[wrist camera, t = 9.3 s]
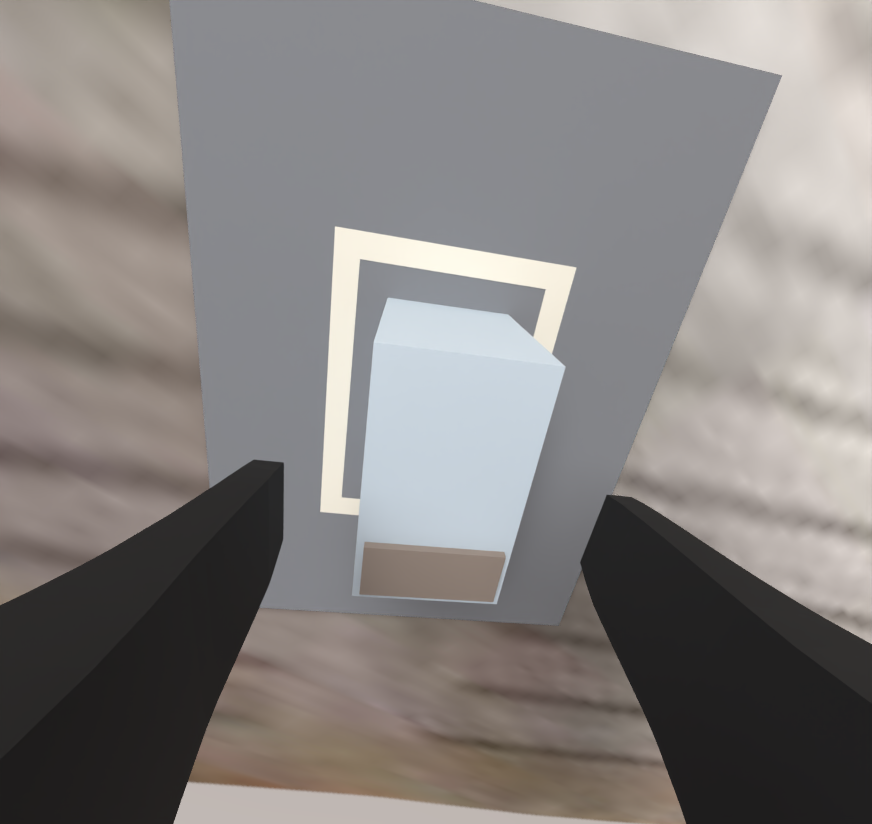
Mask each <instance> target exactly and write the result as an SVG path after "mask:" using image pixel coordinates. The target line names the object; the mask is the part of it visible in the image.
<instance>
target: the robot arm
mask: <svg viewBox="0 0 872 824" xmlns="http://www.w3.org/2000/svg"><path fill="white" fill-rule="evenodd" d="M283 529H284V462H274V461H264V460H252V461H251V462H249V463H247V464H246V465H244V466H243V467H241V468H240V469H238V470H237V471H235V472H234V473H232V474H231V475H229V476H228V477H226V478H225V479H223V480H222V481H220V482H219V483H217V484H216V485H214V486H213V487H211V488H210V489H208V490H207V491H205V492H204V493H202V494H201V495H199V496H198V497H196V498H194V499H193V500H191V501H190V502H188V503H187V504H185V505H184V506H182V507H181V508H179V509H177V510H176V511H174V512H173V513H171V514H170V515H168V516H166V517H165V518H163V519H161V520H159V521H158V522H156V523H154V524H153V525H151V526H149V527H148V528H146V529H144V530H143V531H141V532H139V533H137V534H136V535H134V536H132V537H131V538H129V539H127V540H126V541H124V542H122V543H121V544H119V545H117V546H115V547H114V548H112V549H110V550H108V551H107V552H105V553H103V554H101V555H99V556H98V557H96V558H94V559H92V560H90V561H88V562H86V563H84V564H83V565H81V566H79V567H77V568H75V569H73V570H71V571H69V572H67V573H65V574H63V575H61V576H59V577H57V578H55V579H53V580H51V581H49V582H47V583H45V584H43V585H41V586H39V587H37V588H35V589H33V590H31V591H29V592H27V593H25V594H23V595H21V596H19V597H17V598H15V599H13V600H11V601H9V602H6V603H4V604H2V605H0V824H173V823H174V820H175V817H176V814H177V811H178V808H179V805H180V802H181V799H182V796H183V793H184V791H185V788H186V785H187V782H188V779H189V776H190V773H191V771H192V768H193V765H194V762H195V759H196V756H197V754H198V751H199V748H200V745H201V742H202V739H203V736H204V734H205V731H206V728H207V726H208V723H209V721H210V718H211V716H212V713H213V711H214V708H215V706H216V703H217V701H218V699H219V696H220V694H221V692H222V690H223V687H224V685H225V683H226V681H227V679H228V676H229V674H230V672H231V670H232V667H233V665H234V663H235V661H236V658H237V656H238V654H239V652H240V649H241V647H242V645H243V643H244V641H245V638H246V636H247V634H248V632H249V629H250V627H251V625H252V623H253V620H254V618H255V616H256V614H257V611H258V609H259V607H260V605H261V602H262V600H263V598H264V596H265V593H266V591H267V589H268V586H269V584H270V581H271V578H272V575H273V571H274V568H275V565H276V562H277V559H278V555H279V552H280V549H281V545H282V542H283ZM580 564H581V567H582V571H583V574H584V577H585V581H586V584H587V587H588V590H589V593H590V596H591V599H592V602H593V605H594V607H595V609H596V612H597V614H598V616H599V618H600V620H601V623H602V625H603V627H604V629H605V631H606V633H607V635H608V638H609V640H610V642H611V644H612V646H613V648H614V650H615V652H616V655H617V657H618V659H619V661H620V663H621V665H622V667H623V669H624V671H625V674H626V676H627V678H628V680H629V682H630V684H631V686H632V688H633V690H634V693H635V695H636V697H637V699H638V701H639V703H640V705H641V707H642V709H643V712H644V714H645V716H646V718H647V721H648V723H649V725H650V728H651V730H652V732H653V735H654V737H655V739H656V742H657V744H658V747H659V750H660V752H661V755H662V758H663V761H664V763H665V766H666V769H667V771H668V774H669V777H670V779H671V782H672V785H673V787H674V790H675V793H676V795H677V798H678V801H679V804H680V806H681V809H682V812H683V815H684V818H685V821H686V824H872V644H870V643H868V642H867V641H865V640H863V639H861V638H859V637H858V636H856V635H854V634H852V633H850V632H849V631H847V630H845V629H843V628H841V627H840V626H838V625H836V624H834V623H832V622H830V621H829V620H827V619H825V618H823V617H822V616H820V615H818V614H817V613H815V612H813V611H811V610H810V609H808V608H806V607H805V606H803V605H801V604H799V603H798V602H796V601H795V600H793V599H791V598H790V597H788V596H786V595H785V594H783V593H782V592H780V591H778V590H777V589H775V588H773V587H772V586H770V585H769V584H767V583H765V582H764V581H762V580H760V579H759V578H757V577H756V576H754V575H753V574H751V573H750V572H748V571H746V570H745V569H743V568H742V567H740V566H739V565H737V564H736V563H734V562H732V561H731V560H729V559H728V558H726V557H725V556H723V555H722V554H720V553H719V552H717V551H716V550H714V549H713V548H711V547H710V546H708V545H707V544H705V543H704V542H702V541H701V540H699V539H698V538H696V537H695V536H693V535H692V534H690V533H689V532H687V531H686V530H684V529H683V528H681V527H680V526H678V525H677V524H675V523H674V522H672V521H671V520H669V519H667V518H666V517H664V516H663V515H661V514H660V513H658V512H656V511H655V510H653V509H652V508H650V507H648V506H647V505H645V504H643V503H641V502H640V501H638V500H636V499H634V498H632V497H625V496H615V495H606V498H605V500H604V503H603V505H602V508H601V511H600V513H599V516H598V518H597V521H596V523H595V526H594V528H593V531H592V533H591V536H590V538H589V541H588V543H587V546H586V548H585V551H584V553H583V556H582V559H581V561H580Z"/></svg>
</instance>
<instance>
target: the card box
mask: <svg viewBox="0 0 872 824" xmlns="http://www.w3.org/2000/svg"><path fill="white" fill-rule="evenodd" d="M564 371H565V366H564V365H563V364H562V363H561V362H560V361H559V360H558V359H557V358H556V357H554V356H553V355H552V354H551V353H550V352H549V351H548V350H547V349H546V348H545V347H543V346H542V345H541V344H540V343H539V342H538V341H537V340H536V339H535V338H534V337H532V336H531V335H530V334H529V333H528V332H527V331H526V330H525V329H524V328H523V327H521V326H520V325H519V324H518V323H517V322H516V321H515V320H514V319H513V318H512V317H510V316H509V315H508V314H501V313H494V312H487V311H480V310H473V309H466V308H458V307H451V306H444V305H437V304H430V303H423V302H416V301H409V300H402V299H395V298H387V301H386V305H385V308H384V311H383V314H382V317H381V320H380V324H379V327H378V330H377V333H376V336H375V339H374V344H373V355H372V367H371V379H370V390H369V402H368V413H367V425H366V437H365V448H364V460H363V472H362V483H361V495H360V506H359V518H358V530H357V541H356V553H355V564H354V576H353V588H352V596H362V597H379V598H397V599H414V600H431V601H449V602H466V603H483V604H497V601H498V598H499V594H500V591H501V587H502V584H503V581H504V577H505V574H506V570H507V567H508V563H509V560H510V556H511V553H512V550H513V546H514V543H515V539H516V536H517V532H518V529H519V526H520V522H521V519H522V515H523V512H524V508H525V505H526V501H527V498H528V495H529V491H530V488H531V484H532V481H533V477H534V474H535V471H536V467H537V464H538V460H539V457H540V453H541V450H542V446H543V443H544V440H545V436H546V433H547V429H548V426H549V422H550V419H551V416H552V412H553V409H554V405H555V402H556V398H557V395H558V391H559V388H560V385H561V381H562V378H563V374H564Z"/></svg>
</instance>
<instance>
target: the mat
mask: <svg viewBox="0 0 872 824" xmlns="http://www.w3.org/2000/svg"><path fill="white" fill-rule="evenodd" d="M169 2H170V14H171V26H172V38H173V50H174V62H175V74H176V86H177V98H178V110H179V122H180V134H181V146H182V159H183V171H184V183H185V195H186V207H187V219H188V231H189V243H190V255H191V267H192V279H193V291H194V303H195V316H196V328H197V340H198V352H199V364H200V376H201V388H202V400H203V412H204V424H205V436H206V448H207V460H208V472H209V485H210V488H211V487H213V486H214V485H216V484H217V483H219V482H220V481H222V480H223V479H225V478H226V477H228V476H229V475H231V474H232V473H234V472H235V471H237V470H238V469H240V468H241V467H243V466H244V465H246V464H247V463H249V462H251V461H252V460H264V461H274V462H284V529H283V542H282V545H281V549H280V552H279V555H278V559H277V562H276V565H275V568H274V571H273V575H272V578H271V581H270V584H269V586H268V589H267V591H266V593H265V596H264V598H263V600H262V602H261V605H260V607H259V608H275V609H292V610H308V611H325V612H341V613H358V614H374V615H391V616H407V617H424V618H440V619H457V620H473V621H490V622H506V623H523V624H539V625H556V626H559V624H560V621H561V619H562V616H563V614H564V612H565V609H566V607H567V604H568V602H569V599H570V597H571V594H572V592H573V589H574V587H575V584H576V582H577V580H578V577H579V575H580V572H581V570H582V567H581V564H580V561H581V559H582V556H583V553H584V551H585V548H586V546H587V543H588V541H589V538H590V536H591V533H592V531H593V528H594V526H595V523H596V521H597V518H598V516H599V513H600V511H601V508H602V505H603V503H604V500H605V498H606V495H612V493H613V491H614V488H615V486H616V483H617V481H618V479H619V476H620V474H621V471H622V469H623V466H624V464H625V461H626V459H627V456H628V454H629V451H630V449H631V446H632V444H633V442H634V439H635V437H636V434H637V432H638V429H639V427H640V424H641V422H642V419H643V417H644V414H645V412H646V410H647V407H648V405H649V402H650V400H651V397H652V395H653V392H654V390H655V387H656V385H657V382H658V380H659V378H660V375H661V373H662V370H663V368H664V365H665V363H666V360H667V358H668V355H669V353H670V350H671V348H672V345H673V343H674V341H675V338H676V336H677V333H678V331H679V328H680V326H681V323H682V321H683V318H684V316H685V313H686V311H687V309H688V306H689V304H690V301H691V299H692V296H693V294H694V291H695V289H696V286H697V284H698V281H699V279H700V276H701V274H702V272H703V269H704V267H705V264H706V262H707V259H708V257H709V254H710V252H711V249H712V247H713V244H714V242H715V240H716V237H717V235H718V232H719V230H720V227H721V225H722V222H723V220H724V217H725V215H726V212H727V210H728V208H729V205H730V203H731V200H732V198H733V195H734V193H735V190H736V188H737V185H738V183H739V180H740V178H741V175H742V173H743V171H744V168H745V166H746V163H747V161H748V158H749V156H750V153H751V151H752V148H753V146H754V143H755V141H756V139H757V136H758V134H759V131H760V129H761V126H762V124H763V121H764V119H765V116H766V114H767V111H768V109H769V107H770V104H771V102H772V99H773V97H774V94H775V92H776V89H777V87H778V84H779V82H780V79H781V77H782V75H778V74H774V73H769V72H765V71H761V70H757V69H753V68H749V67H745V66H741V65H737V64H733V63H729V62H724V61H720V60H716V59H712V58H708V57H704V56H700V55H696V54H692V53H688V52H683V51H679V50H675V49H671V48H667V47H663V46H659V45H655V44H651V43H647V42H643V41H638V40H634V39H630V38H626V37H622V36H618V35H614V34H610V33H606V32H602V31H598V30H593V29H589V28H585V27H581V26H577V25H573V24H569V23H565V22H561V21H557V20H552V19H548V18H544V17H540V16H536V15H532V14H528V13H524V12H520V11H516V10H512V9H507V8H503V7H499V6H495V5H491V4H487V3H483V2H479V1H475V0H169ZM387 298H395V299H402V300H409V301H416V302H423V303H430V304H437V305H444V306H451V307H458V308H466V309H473V310H480V311H487V312H494V313H501V314H508V315H509V316H510V317H512V318H513V319H514V320H515V321H516V322H517V323H518V324H519V325H520V326H521V327H523V328H524V329H525V330H526V331H527V332H528V333H529V334H530V335H531V336H532V337H534V338H535V339H536V340H537V341H538V342H539V343H540V344H541V345H542V346H543V347H545V348H546V349H547V350H548V351H549V352H550V353H551V354H552V355H553V356H554V357H556V358H557V359H558V360H559V361H560V362H561V363H562V364H563V365H564V366H565V371H564V374H563V378H562V381H561V385H560V388H559V391H558V395H557V398H556V402H555V405H554V409H553V412H552V416H551V419H550V422H549V426H548V429H547V433H546V436H545V440H544V443H543V446H542V450H541V453H540V457H539V460H538V464H537V467H536V471H535V474H534V477H533V481H532V484H531V488H530V491H529V495H528V498H527V501H526V505H525V508H524V512H523V515H522V519H521V522H520V526H519V529H518V532H517V536H516V539H515V543H514V546H513V550H512V553H511V556H510V560H509V563H508V567H507V570H506V574H505V577H504V581H503V584H502V587H501V591H500V594H499V598H498V601H497V604H483V603H466V602H449V601H431V600H414V599H397V598H379V597H362V596H352V588H353V576H354V564H355V553H356V541H357V530H358V518H359V506H360V495H361V483H362V472H363V460H364V448H365V437H366V425H367V413H368V402H369V390H370V379H371V367H372V355H373V344H374V339H375V336H376V333H377V330H378V327H379V324H380V320H381V317H382V314H383V311H384V308H385V305H386V301H387Z"/></svg>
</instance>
